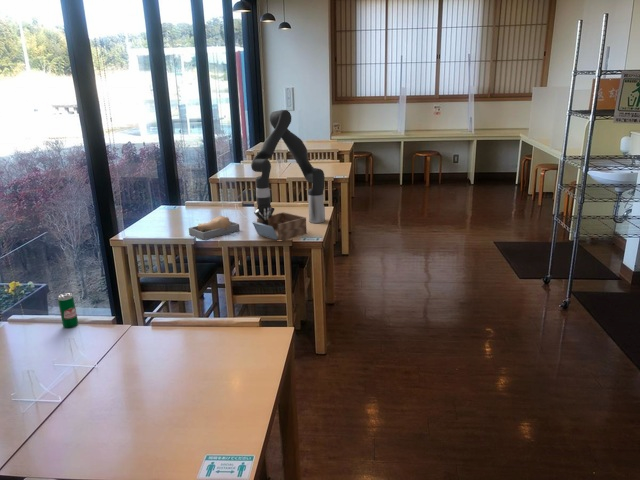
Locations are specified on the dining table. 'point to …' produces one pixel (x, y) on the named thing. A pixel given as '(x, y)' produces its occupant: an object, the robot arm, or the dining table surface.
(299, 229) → the box
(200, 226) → the squash
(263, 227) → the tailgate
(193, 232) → the squash crate
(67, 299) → the soda can
